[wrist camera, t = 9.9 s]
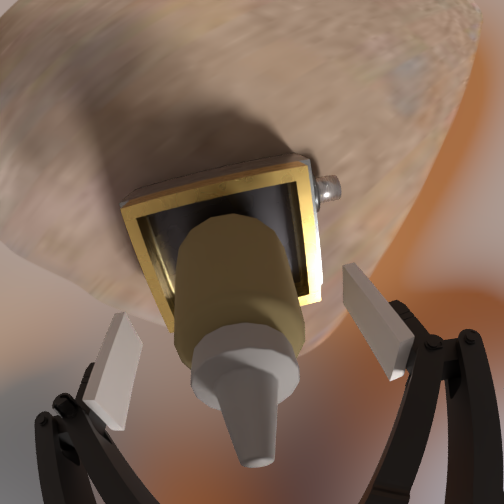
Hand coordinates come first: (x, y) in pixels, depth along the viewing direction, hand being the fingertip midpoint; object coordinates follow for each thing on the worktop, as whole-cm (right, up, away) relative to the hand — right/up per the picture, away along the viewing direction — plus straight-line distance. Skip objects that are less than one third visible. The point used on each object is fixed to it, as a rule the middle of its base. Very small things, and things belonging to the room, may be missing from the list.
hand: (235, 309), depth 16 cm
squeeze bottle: (-1, +4, +8) cm, 9 cm away
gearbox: (0, +6, +13) cm, 14 cm away
